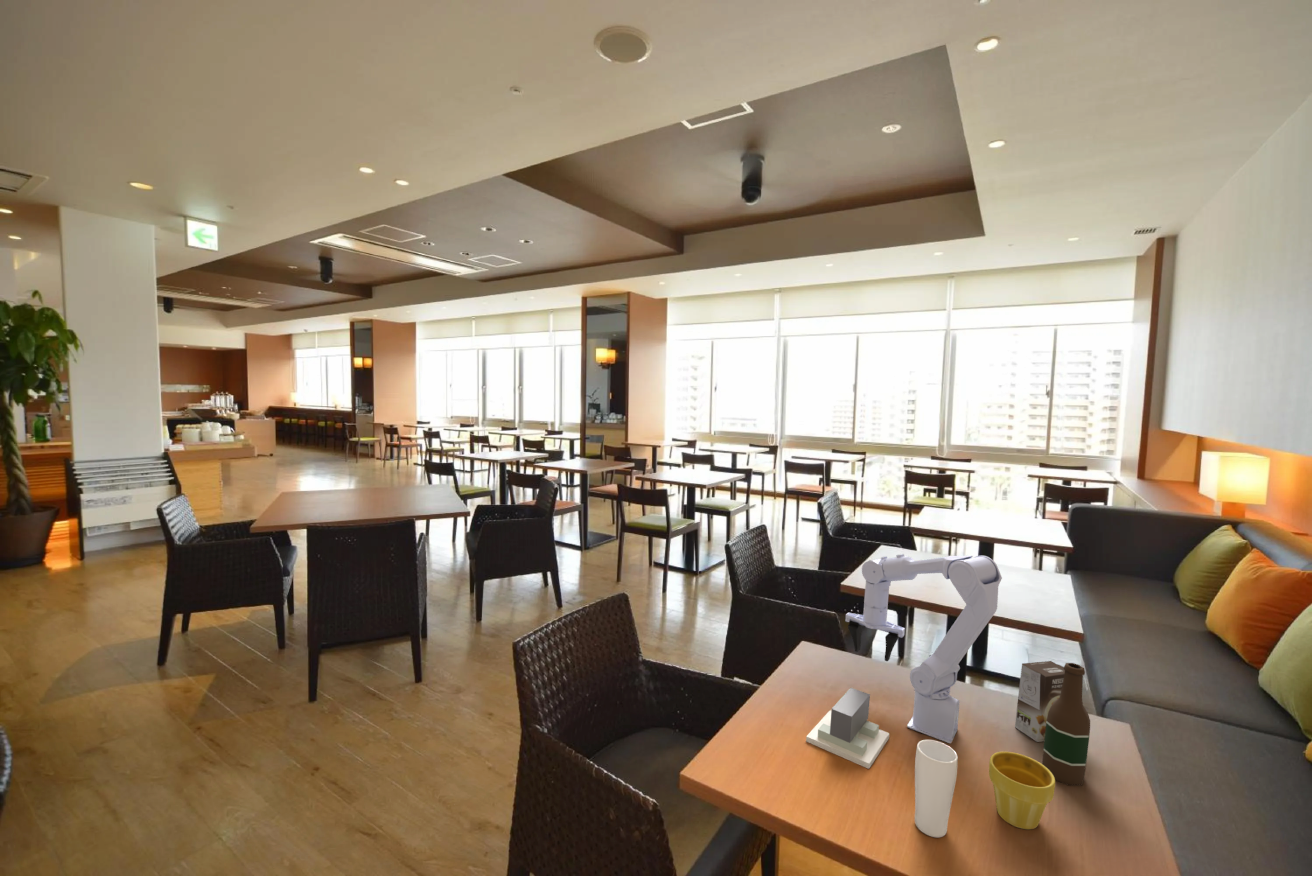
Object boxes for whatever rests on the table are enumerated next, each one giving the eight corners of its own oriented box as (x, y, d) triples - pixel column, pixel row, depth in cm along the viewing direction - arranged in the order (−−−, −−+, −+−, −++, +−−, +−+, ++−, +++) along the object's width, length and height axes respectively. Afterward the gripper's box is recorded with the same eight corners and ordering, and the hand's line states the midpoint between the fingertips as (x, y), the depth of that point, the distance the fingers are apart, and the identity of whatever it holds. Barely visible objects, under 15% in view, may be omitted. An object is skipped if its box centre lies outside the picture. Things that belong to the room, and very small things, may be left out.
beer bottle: (1077, 767, 123) (1089, 661, 121) (1091, 791, 116) (1104, 678, 114) (1035, 758, 126) (1046, 654, 123) (1047, 781, 118) (1059, 670, 116)
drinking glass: (958, 843, 101) (965, 764, 100) (919, 841, 101) (926, 762, 100) (940, 815, 108) (946, 739, 106) (903, 813, 108) (910, 738, 106)
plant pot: (1009, 839, 102) (1014, 788, 102) (973, 797, 113) (978, 750, 112) (1063, 838, 103) (1069, 787, 102) (1023, 797, 113) (1028, 750, 113)
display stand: (888, 738, 131) (890, 725, 131) (868, 769, 120) (869, 755, 120) (829, 714, 140) (830, 703, 139) (806, 741, 129) (806, 728, 128)
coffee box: (1038, 743, 131) (1045, 676, 130) (1013, 727, 137) (1020, 663, 136) (1068, 738, 134) (1075, 672, 132) (1043, 722, 140) (1050, 659, 138)
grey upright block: (868, 718, 133) (870, 694, 133) (849, 743, 124) (851, 716, 123) (849, 711, 136) (850, 687, 135) (829, 734, 127) (831, 708, 126)
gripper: (842, 601, 150) (839, 651, 151) (900, 617, 141) (896, 669, 142) (852, 594, 155) (848, 642, 156) (908, 609, 146) (904, 659, 147)
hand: (872, 655), depth 149 cm, fingers open, 7 cm apart
